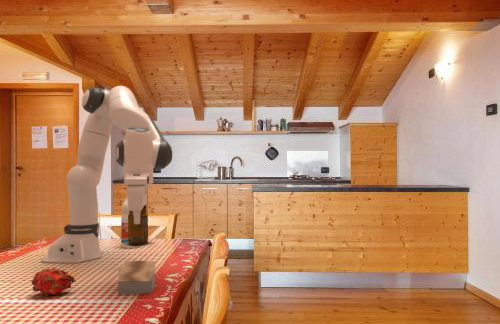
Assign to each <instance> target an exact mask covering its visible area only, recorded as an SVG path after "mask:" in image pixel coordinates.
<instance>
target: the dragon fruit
mask: <svg viewBox="0 0 500 324" xmlns="http://www.w3.org/2000/svg"><path fill="white" fill-rule="evenodd" d="M41 270H42V271H41ZM41 270H40V271H38V272H37V273H36V274H35V275H34V276H33V279H32V280H31V285H32V292H38V293H39V292H41V293H42V295H43V296H44V297H48V296H49V295H56V296H62V295H64V294H66V293H67V292H66V291H65V290H68V289H71V288H72V284H73V283H77V282H76V281H77V280H76V278H75V277H74V276H73V275H72V274H67V273H66V272H65V270H62V269H60V268H55V267H52V268H51V269H50V268H44V269H41ZM62 291H63V292H62Z"/></svg>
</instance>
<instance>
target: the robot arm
mask: <svg viewBox="0 0 500 324" xmlns="http://www.w3.org/2000/svg"><path fill="white" fill-rule="evenodd" d="M81 102H82V104H81V105H82V106H81V107H82V108H83V110H84V111H85V112H87V113H89V115H88V116H87V117H86V121H85V123H84V126H83V129H82V133H81V135H80V136H81V137H80V139H79V144H78V146H77V156H76V163H75V166H73V167H71V168H70V169H69V171H68V173H67V174H66V185H67V194H68V203H69V204H68V205H69V206H68V207H69V218H68V219H69V223H67V224H66V225H65V226H64V227H63V234H62V235H61V236H59V237H58V238H56V239H55V241H53V242H52V243H51V244H50V245H49V248H48V252H47V254H45V255H44V256H43V257H41V262H42V263H60V264H61V263H62V264H63V263H69V264H70V263H71V264H72V263H73V264H74V263H83V262H86V261H91V260H95V259H96V260H97V259H98V258H99V259H100V258H101V257H103V256H102V251H101V248H100V240H99V239H100V238H99V236H100V223H99V202H98V193H97V186H98V185H99V184H100V181H101V179H102V178H101V177H102V174H103V167H104V164H105V158H106V153H107V149H108V147H109V146H108V145H109V142H110V139H111V135H112V134H111V133H112V129H113V127H114V126H116V127H117V128H119V129H122V130H125V136H124V139H123V140H120V141H119V142H118V143H117V144H116V145H115V162H116V163H117V165H119V166H121V167H122V168H123V184H124V186H126V196H127V200H128V208H129V210H130V211H133V216H134V224H140V222H141V221H140V220H141V218H140V214H141V210H142V209H143V208H144V205H146V206H147V203H148V190H149V189H150V185H152V184H154V169H159V170H163V169H165V168H166V167H168V166H169V165H170V164H171V163H172V160H173V150H172V146H171V144H170V143H169V142H168V141H167V140H166V139H165V137H164V136H163V134H162V133H161V131H160V129H159V127H158V126H157V124H156V122H155V121H154V119H153V118H152V116H151V115H149V114H148V113H146V112H145V111H144V110H143V109H141V107H139V104H138V101H137V98H136V96H135V95H134V93H133V91H132V90H131V89H130V88H128V87H127V86H124V85H117V86H114V87H113V88H111V89H110V90H105V89H103V88H100V87H90V88H89V87H88V88H87V89H86V91H85V92H84V94H83V95H82V99H81ZM113 125H114V126H113Z"/></svg>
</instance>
